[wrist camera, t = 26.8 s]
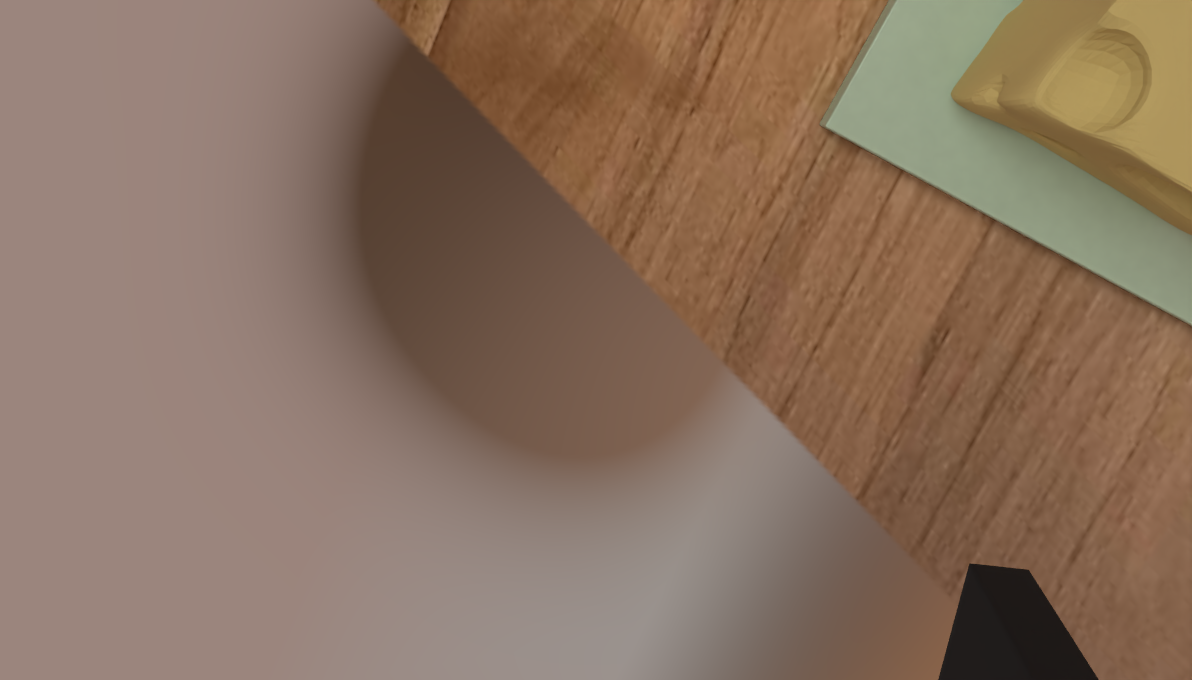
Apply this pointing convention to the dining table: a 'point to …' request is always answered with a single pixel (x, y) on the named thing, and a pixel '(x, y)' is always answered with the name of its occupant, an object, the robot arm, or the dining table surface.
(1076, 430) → the dining table surface
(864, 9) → the dining table surface
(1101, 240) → the board
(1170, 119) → the cheese
